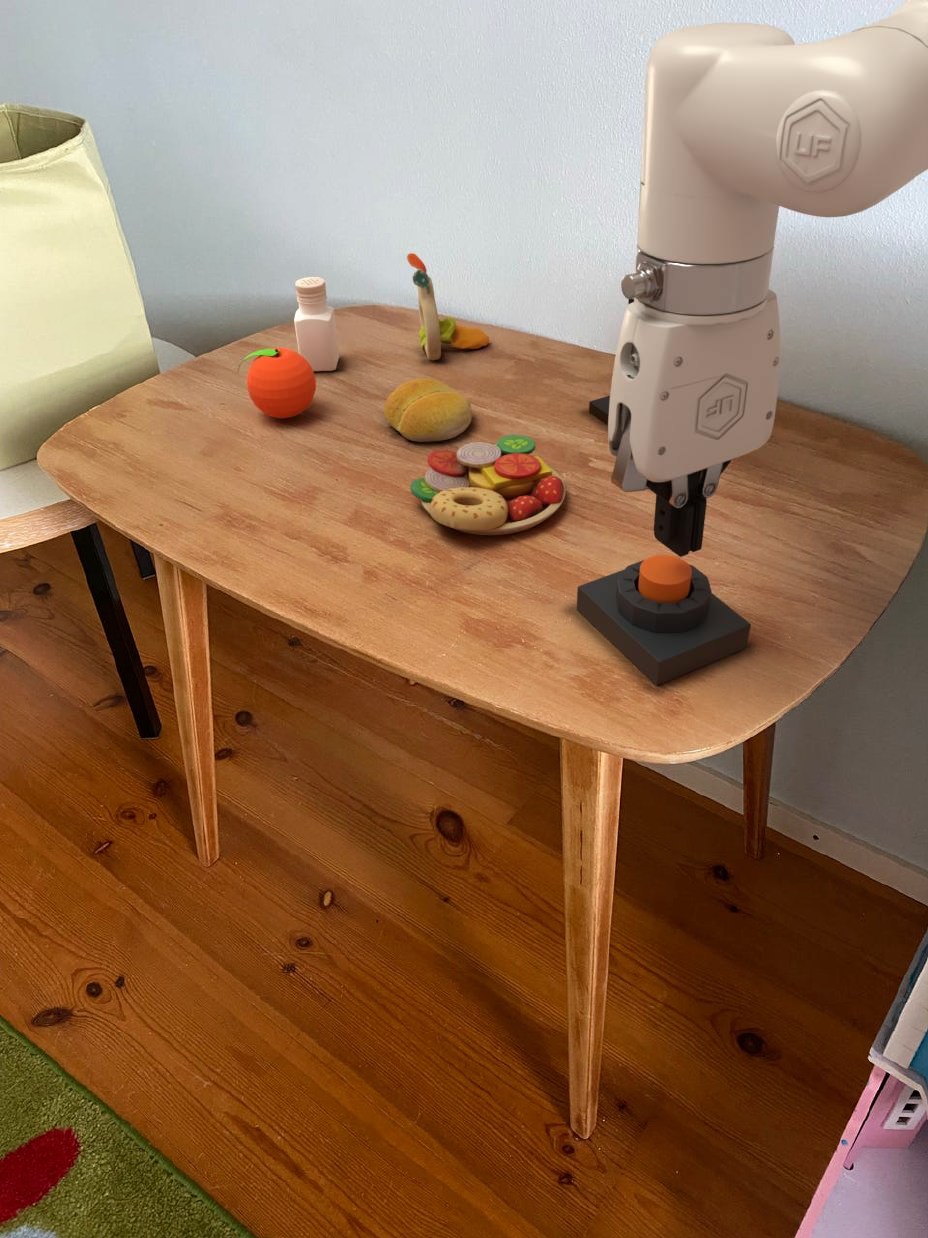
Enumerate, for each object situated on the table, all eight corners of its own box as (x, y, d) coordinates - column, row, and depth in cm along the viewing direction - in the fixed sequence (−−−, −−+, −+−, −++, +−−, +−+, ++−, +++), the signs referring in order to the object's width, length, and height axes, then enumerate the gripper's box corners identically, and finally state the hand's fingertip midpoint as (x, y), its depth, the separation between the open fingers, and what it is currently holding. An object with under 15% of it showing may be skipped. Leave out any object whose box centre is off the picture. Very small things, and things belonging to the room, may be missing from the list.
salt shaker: (336, 372, 109) (326, 287, 104) (300, 373, 110) (288, 288, 104) (340, 357, 113) (330, 274, 107) (306, 358, 113) (294, 275, 107)
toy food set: (445, 558, 81) (443, 524, 79) (394, 482, 90) (391, 451, 88) (590, 520, 84) (592, 487, 82) (526, 451, 94) (526, 420, 92)
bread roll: (419, 453, 94) (416, 415, 92) (373, 419, 100) (370, 382, 98) (490, 428, 98) (489, 391, 95) (442, 396, 104) (440, 360, 101)
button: (699, 594, 70) (702, 574, 69) (658, 610, 69) (660, 590, 67) (668, 568, 72) (670, 549, 71) (628, 583, 71) (629, 564, 70)
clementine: (233, 428, 100) (220, 362, 95) (255, 397, 105) (243, 333, 101) (309, 431, 99) (299, 365, 94) (327, 400, 104) (319, 336, 100)
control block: (746, 647, 71) (755, 603, 68) (656, 686, 68) (661, 641, 65) (661, 577, 78) (666, 535, 75) (576, 609, 75) (578, 566, 72)
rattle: (482, 367, 109) (480, 263, 102) (410, 366, 110) (402, 263, 103) (490, 340, 115) (488, 240, 108) (420, 339, 116) (414, 239, 109)
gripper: (633, 326, 51) (619, 607, 62) (847, 267, 56) (798, 536, 67) (555, 286, 56) (555, 552, 68) (757, 235, 62) (726, 490, 73)
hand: (677, 543), depth 68 cm, fingers closed
